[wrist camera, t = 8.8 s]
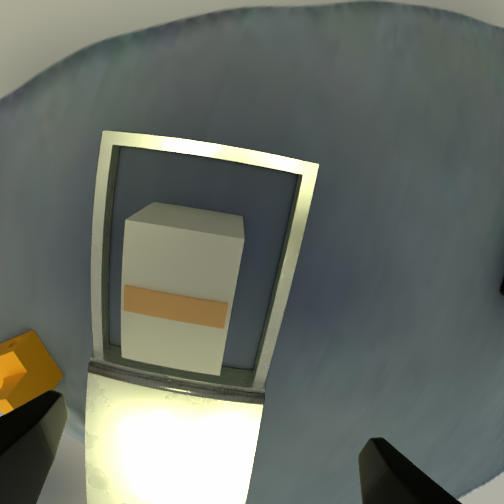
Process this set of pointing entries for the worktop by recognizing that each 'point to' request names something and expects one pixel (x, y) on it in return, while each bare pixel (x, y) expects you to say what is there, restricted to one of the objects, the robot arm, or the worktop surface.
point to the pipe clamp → (25, 371)
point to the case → (177, 371)
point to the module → (179, 285)
